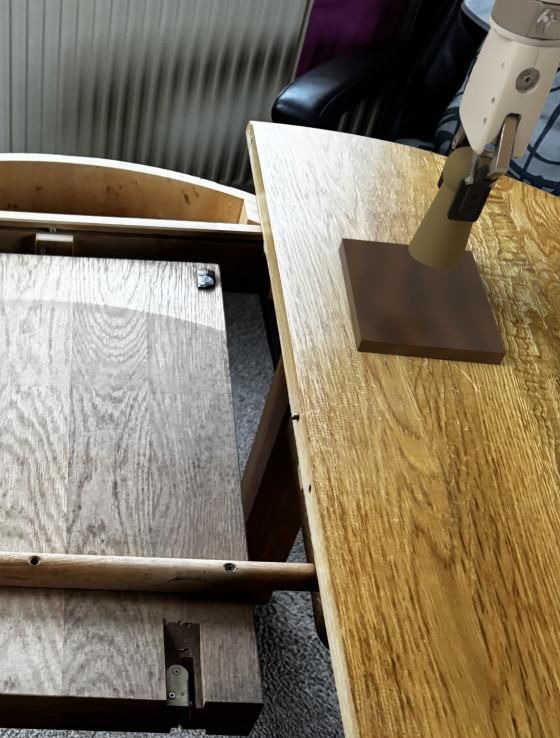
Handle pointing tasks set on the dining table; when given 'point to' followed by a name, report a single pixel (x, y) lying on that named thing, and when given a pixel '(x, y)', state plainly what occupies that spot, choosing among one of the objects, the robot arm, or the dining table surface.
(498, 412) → the dining table surface
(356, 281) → the walnut board
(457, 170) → the tan pawn
